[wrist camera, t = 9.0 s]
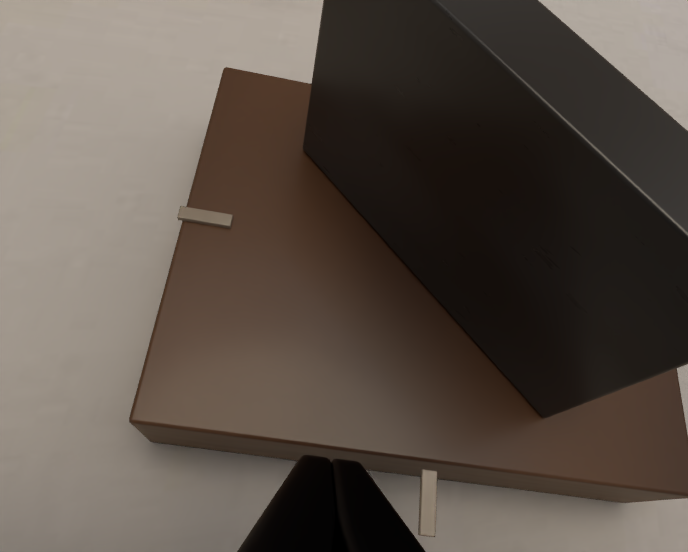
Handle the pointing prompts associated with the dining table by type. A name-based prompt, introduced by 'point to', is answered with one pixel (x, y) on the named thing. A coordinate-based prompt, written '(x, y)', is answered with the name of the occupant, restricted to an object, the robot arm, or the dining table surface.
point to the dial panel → (357, 341)
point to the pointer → (512, 185)
